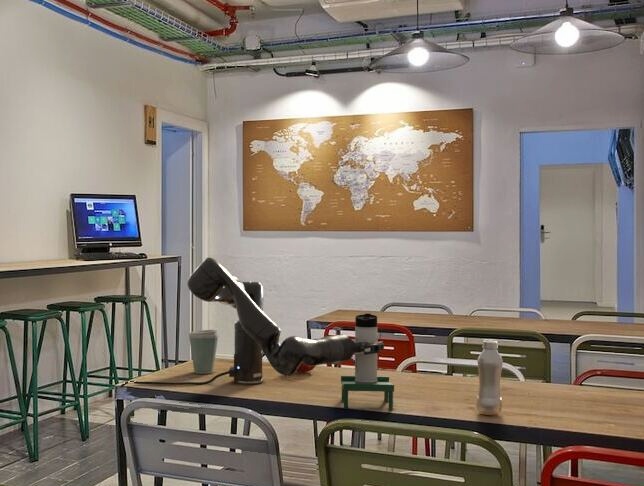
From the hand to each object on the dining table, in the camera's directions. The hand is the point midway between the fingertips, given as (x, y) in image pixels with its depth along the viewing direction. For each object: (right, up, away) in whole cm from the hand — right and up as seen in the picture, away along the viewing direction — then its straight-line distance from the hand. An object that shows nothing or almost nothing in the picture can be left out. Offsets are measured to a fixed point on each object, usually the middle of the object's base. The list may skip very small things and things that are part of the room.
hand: (371, 343), depth 213 cm
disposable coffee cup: (-50, -16, +50) cm, 73 cm away
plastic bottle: (+30, -18, -12) cm, 37 cm away
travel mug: (-2, -12, -1) cm, 12 cm away
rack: (-1, -17, -1) cm, 18 cm away
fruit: (-15, -16, +49) cm, 53 cm away
